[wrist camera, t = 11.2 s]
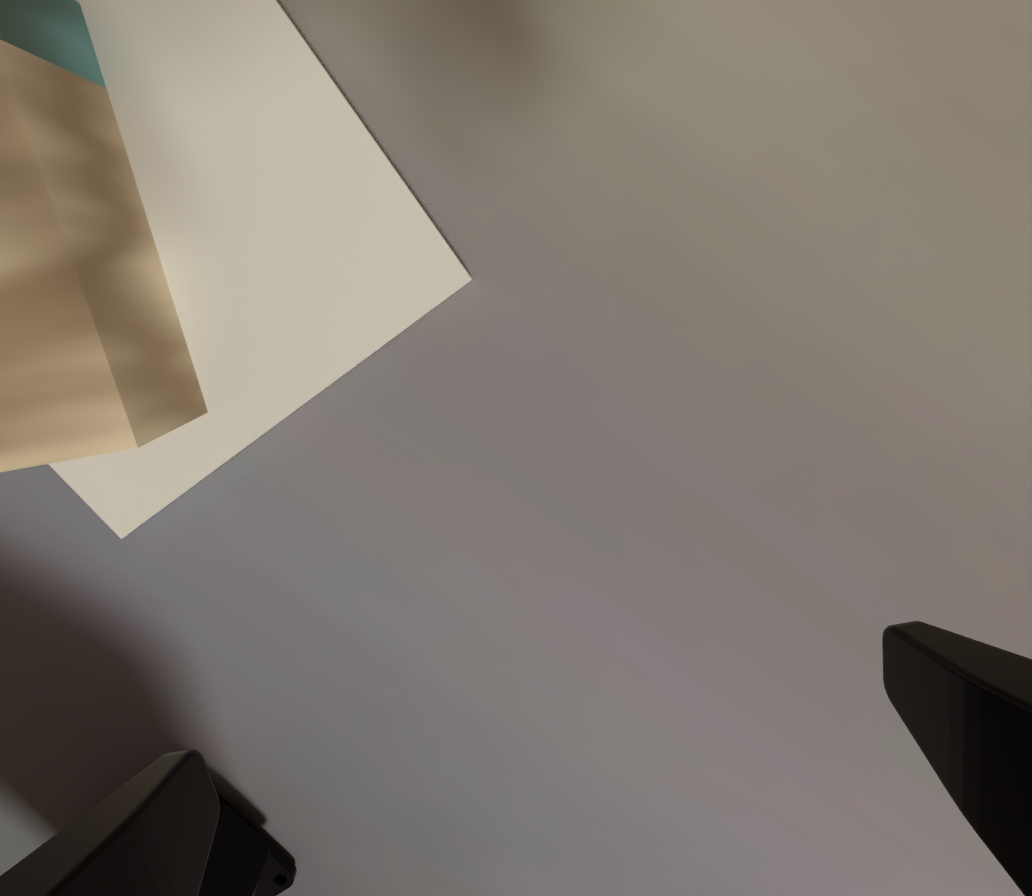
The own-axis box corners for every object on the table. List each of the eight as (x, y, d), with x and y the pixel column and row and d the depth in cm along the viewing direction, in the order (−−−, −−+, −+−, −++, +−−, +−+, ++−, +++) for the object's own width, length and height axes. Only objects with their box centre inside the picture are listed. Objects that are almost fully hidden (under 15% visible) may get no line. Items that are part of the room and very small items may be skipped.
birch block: (138, 447, 16) (-47, -77, 13) (-21, 475, 16) (-241, -40, 13) (207, 412, 20) (79, 3, 17) (80, 434, 20) (-71, 31, 17)
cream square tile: (131, 531, 21) (121, 538, 21) (-264, 122, 18) (-290, 117, 17) (472, 279, 19) (472, 279, 19) (110, -237, 16) (95, -256, 15)
